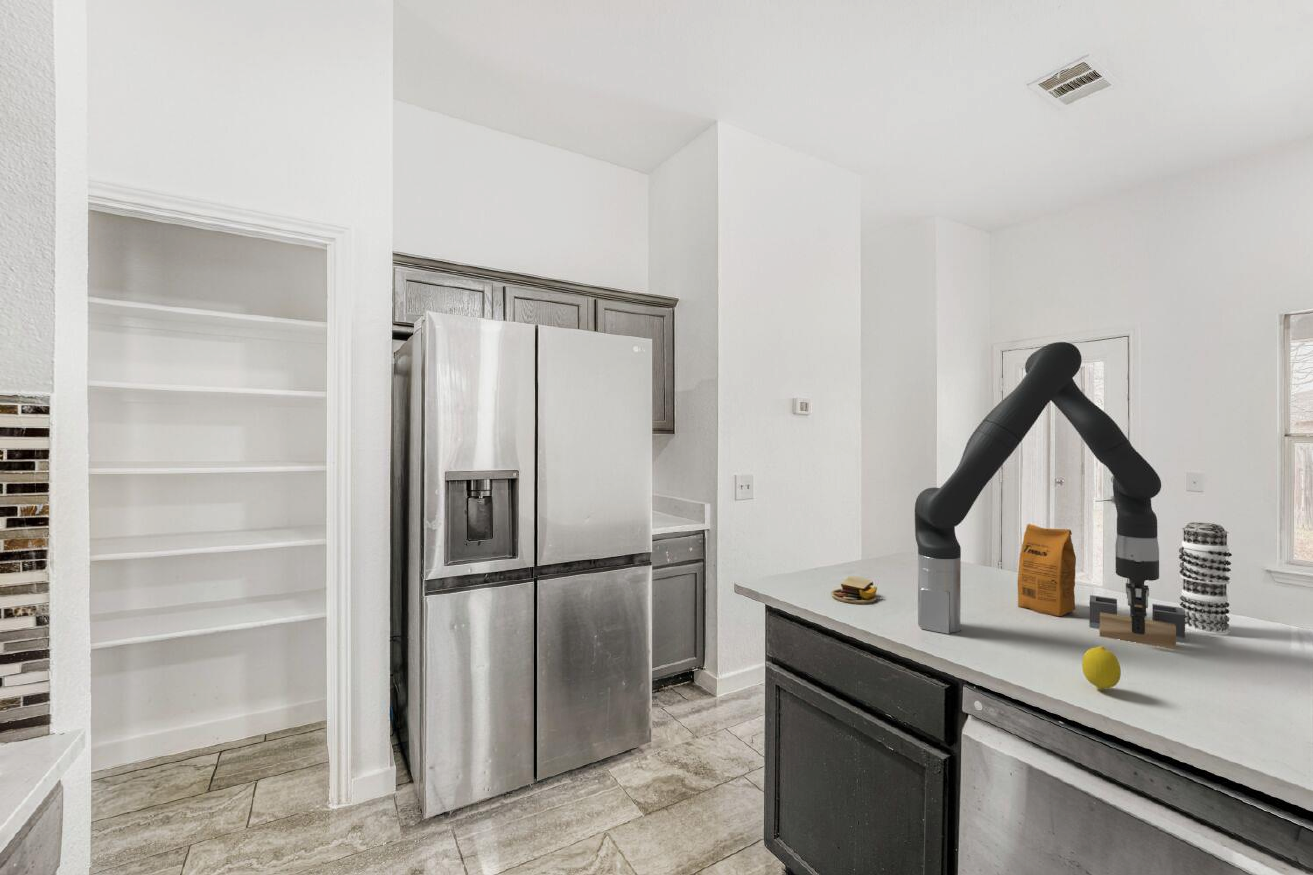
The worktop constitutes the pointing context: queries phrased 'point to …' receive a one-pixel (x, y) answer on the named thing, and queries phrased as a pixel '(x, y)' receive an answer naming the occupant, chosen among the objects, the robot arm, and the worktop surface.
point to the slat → (1153, 636)
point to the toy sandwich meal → (856, 591)
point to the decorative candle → (1205, 578)
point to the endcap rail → (1158, 614)
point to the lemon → (1101, 668)
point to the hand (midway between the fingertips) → (1137, 627)
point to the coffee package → (1047, 571)
